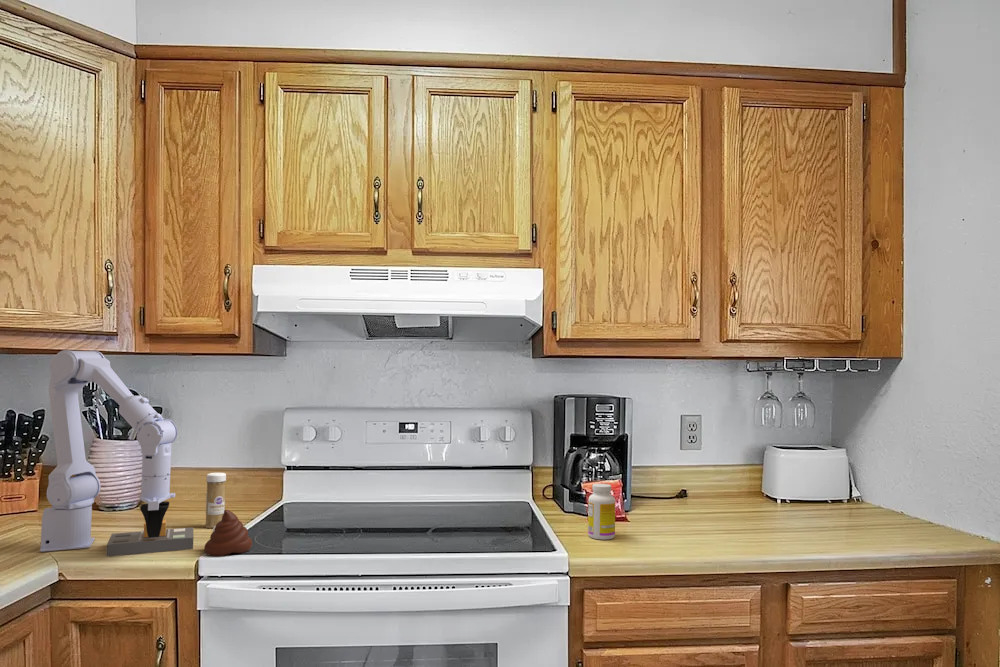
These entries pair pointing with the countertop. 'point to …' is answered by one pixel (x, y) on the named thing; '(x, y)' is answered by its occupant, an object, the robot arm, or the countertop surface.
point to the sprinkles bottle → (215, 498)
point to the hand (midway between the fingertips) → (153, 536)
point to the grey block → (149, 542)
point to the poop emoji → (228, 537)
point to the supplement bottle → (601, 513)
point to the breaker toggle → (162, 532)
